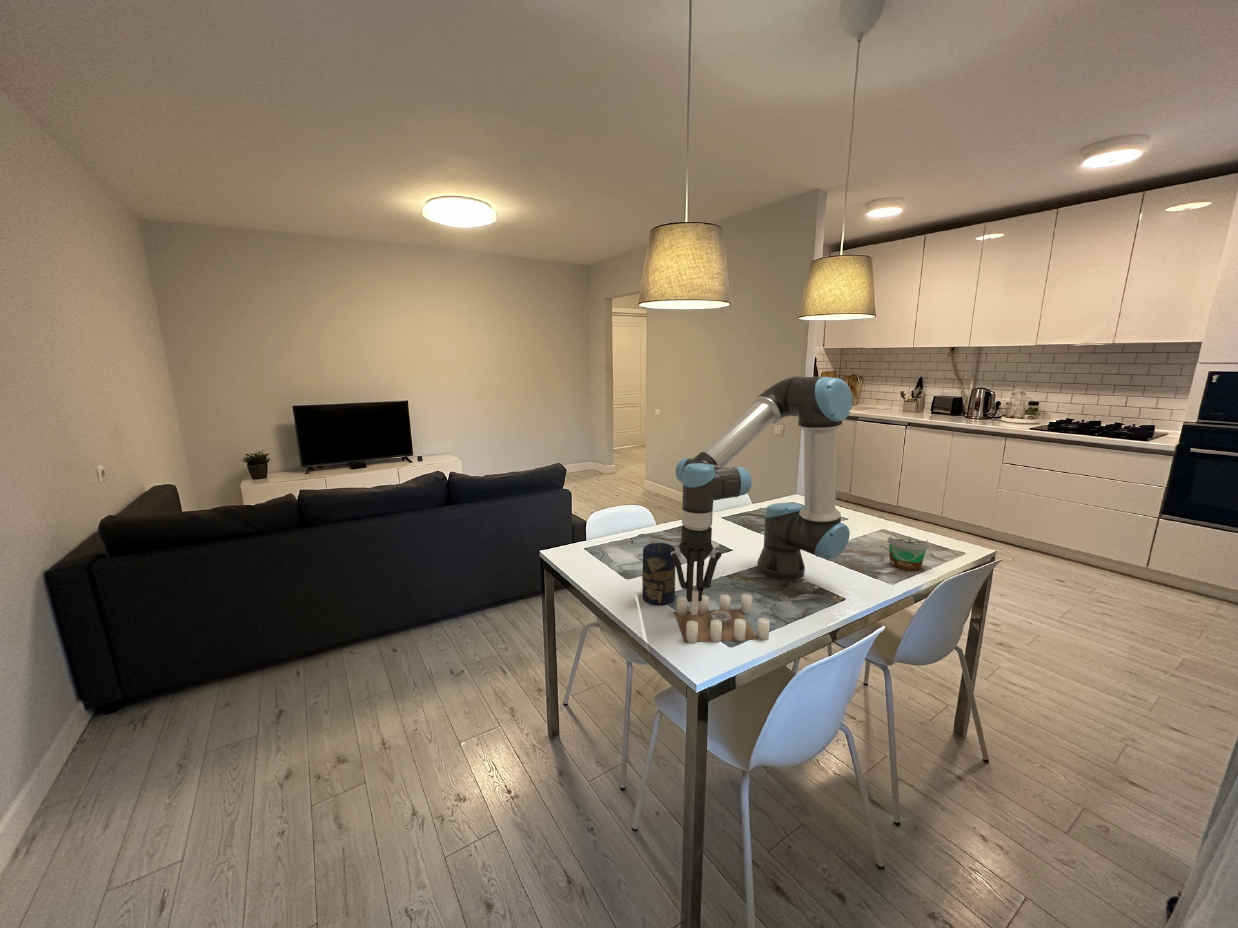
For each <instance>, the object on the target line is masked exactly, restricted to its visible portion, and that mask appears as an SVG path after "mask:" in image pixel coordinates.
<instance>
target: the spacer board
mask: <svg viewBox="0 0 1238 928" xmlns="http://www.w3.org/2000/svg"><path fill="white" fill-rule="evenodd" d="M717 610H719V611H720V609H715V610H711V609H709V612H708V614H707V615H700V614H699V613H698V615H692V614H691V612H690V610H689V611H688V610H687V615H685V616H679V615H677V611H673V614H674V616H675V620H676V623H677V625H678V627H679V631H680V633H681V636H682V638H683V641H684V644H689V642H687V641H686V628H687V622H688V621H696V622H697V623H698V641H697V642H696V643H711V642H713V641H711V640H710V624H711V623H710V613H712V612H715V611H717ZM729 615H730V616H731V627H730V628H728V629H726V630H722V639H721V641H720V642H732V641H733V642H735V641H737V640H735V639H734V620H735V619H743V620H745V621H746V632H745V640H744V641H755V640H758V641H759V638H758V637H757V634H756V633H755V632H754V630H753V629H752V627H751V625H750V623H749V622H748V620H747V619H746V618H745V616H744V613H743V612H741V608H740V609H738V608H736V609H730V613H729ZM713 643H714V642H713Z"/></svg>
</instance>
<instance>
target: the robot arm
mask: <svg viewBox="0 0 1238 928" xmlns="http://www.w3.org/2000/svg"><path fill="white" fill-rule="evenodd" d="M852 408H853V395H852V391H851V389H850V387H849V385H848V384H847V383H846V382H845V381H844V380H843V379H841V378H838V377H830V376H792V377H787V378H784V379H782V380H779V381H778V382H776V383H774V384H772V385H771V386H769V387H768V388H767V389H765V390H764V391H762V392H761V394H758V396H757V397H755V399H754V400H753V405H752V406H751V407H749V408H748V409H747V410H746V411H745V412H744V413H742V414H741V416H739V417H738V418H737V419H736V420H735V421H734V422H733V423H732V424H730V425H729V426H728V427H727V428H726V429H725V430H723V432H721V433H720V434H719V435H718V436H717V437H716V438H714V440H712V441H711V442H710V443H709V444H708V445H707V446H706V447H705V448H704V449H702V450H701V451H700V452H699V453H698V454H697V455H696V456H694V457H693V458H691V457H686V458H683V459H680V460H679V461H678V463H677V464H676V466H675V477H676V479H677V481H679V482H680V483H681V484H682V498H681V499H682V501H681V502H682V503H681V505H682V509H681V510H682V512H681V524H682V525H681V529H680V530H681V535H680V536H681V537H680V539H681V540H680V542H679V543H680V544H678V548H677V549H675V551H671V552H670V554H671V556H672V558H673V560H674V561H675V571H676V574H677V579H678V582H679V586H680V587H681V589H682V590H686V594H685V597H686V598H687V603H688V602H689V611H690V612H691V614H692V615H698V602H699V601H701V600H702V595H703V592H704V589H709V588H710V587H711V583H712V580H713V577H714V575H715V574H714V573H715V570H716V566H717V564H718V561H719V560H720V559H721V557H722V553H721V552H720V551H719V550H718V549H715V548H714V546H713V544H712V537H713V536H712V535H713V528H712V526H713V511H714V501H719V500H725V499H731V498H738V497H740V496H745V495H747V494H748V493H749V492H750V490H751V489H752V484H753V483H752V481H753V479H752V476H751V473H750V472H749V470H748V469H746V468H745V467H742V466H740V467H738V466H737V467H736V466H733V467H726V465H728V464H729V463H730V462H731V461H732V460H733V459H734V458H735V457H736V456H737V455H738V454H740V453H741V451H743V450H744V449H745V448H746V447H747V446H748V445H749V444H751V443H752V442H753V441H754V440H755V439H756V438H757V437H758V436H759V435H761V433H762V432H763V431H764V430H766V429H767V428H768V427H769V426H770V425H772V424H776V423H778V422H779V421H781V420H782V419H783V418H787V417H797V419H798V423H797V424H798V425H797V426H798V427H799V428H800V429H801V430H802V431H803V439H804V440H803V467H804V468H803V470H804V471H803V472H804V473H803V475H804V476H803V478H804V480H803V481H804V483H803V485H804V487H803V488H804V489H803V490H804V491H803V492H804V493H803V494H804V496H803V497H804V500H803V501H804V503H803V504H804V505H803V504H800V503H796V502H778V503H777V502H776V503H773V504H768V506H766V509H765V516H764V533H763V536H764V537H763V547H762V550H761V552H760V554H759V556H758V559H757V565H756V566H757V567H756V568H757V569H756V570H757V572H759V573H760V574H762V575H764V576H766V577H769V578H772V579H776V580H782V581H783V580H784V581H791V580H792V581H793V580H799V579H800V578H803V577H804V576H805V570H806V567H805V562H804V559H803V556H802V551H803V552H806V553H809V554H811V555H814V556H815V557H816V558H822V559H826V560H833V559H836V558H838V557H839V556H840V555H841V554H842V553H843V552H844V551H845V549H846V547H847V545H848V543H849V540H850V535H851V534H850V533H851V532H850V531H851V530H850V528H849V527H848V525H847V524H845V523H843V522H842V514H841V512H840V511H839V510H838V509H837V508H836V488H837V487H836V483H837V481H836V479H837V478H836V477H837V470H836V469H837V430H839V429H840V427H842V425H843V421H844V420H845V419H847V418H848V417H849V415H850V413H851V410H852ZM681 554H682V555H683V557H684V558H685V559H686V579H685V576H684V572H683V567H682V563H681V560H680V559H681V557H682V556H681ZM709 555H710V558H709V560H708V564H707V566H706V571H705V572H704V570H705V569H704V567H705V560H706V559H707V558H708V557H709ZM695 563H696V572H695V571H694V568H695ZM694 572H695V574H696V575H695V576H696V578H695V579H696V581H695V585H696V586H694ZM704 573H705V574H704Z"/></svg>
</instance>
